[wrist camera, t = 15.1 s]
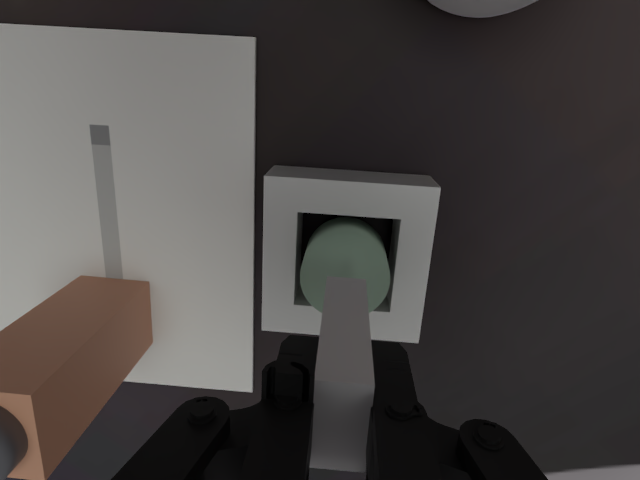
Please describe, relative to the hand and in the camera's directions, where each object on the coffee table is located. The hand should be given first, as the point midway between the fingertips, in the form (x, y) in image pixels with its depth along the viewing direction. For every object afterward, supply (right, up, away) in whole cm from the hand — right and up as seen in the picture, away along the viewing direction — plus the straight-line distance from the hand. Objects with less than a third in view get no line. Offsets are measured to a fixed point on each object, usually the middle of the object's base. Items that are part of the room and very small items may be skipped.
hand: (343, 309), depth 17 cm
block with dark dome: (-13, -1, +9) cm, 16 cm away
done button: (0, +2, +5) cm, 6 cm away
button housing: (0, +3, +7) cm, 7 cm away
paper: (-12, +3, +7) cm, 15 cm away
